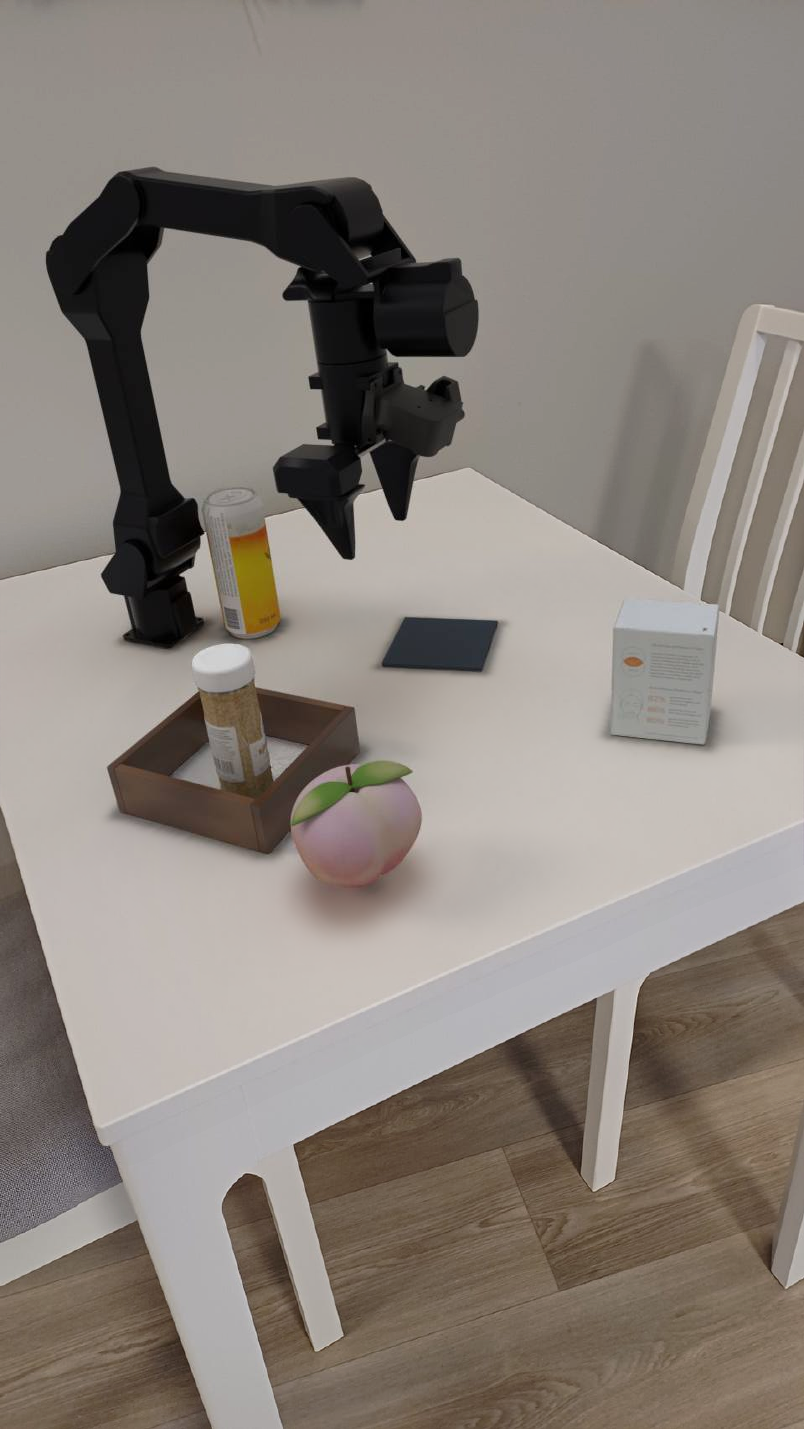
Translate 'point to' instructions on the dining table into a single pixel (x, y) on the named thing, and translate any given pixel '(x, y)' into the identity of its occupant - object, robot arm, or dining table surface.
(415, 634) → the slate mat
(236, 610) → the beer can
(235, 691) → the sprinkles bottle
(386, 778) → the decorative fruit
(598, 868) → the dining table surface
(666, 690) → the small box
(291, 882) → the dining table surface
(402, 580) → the dining table surface
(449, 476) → the dining table surface
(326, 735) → the walnut box
